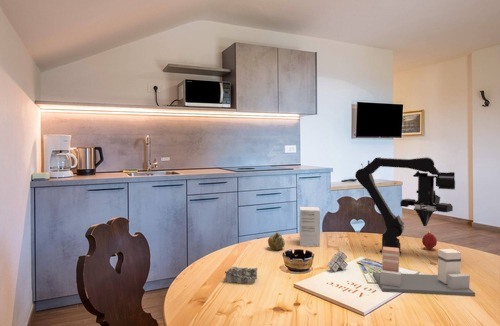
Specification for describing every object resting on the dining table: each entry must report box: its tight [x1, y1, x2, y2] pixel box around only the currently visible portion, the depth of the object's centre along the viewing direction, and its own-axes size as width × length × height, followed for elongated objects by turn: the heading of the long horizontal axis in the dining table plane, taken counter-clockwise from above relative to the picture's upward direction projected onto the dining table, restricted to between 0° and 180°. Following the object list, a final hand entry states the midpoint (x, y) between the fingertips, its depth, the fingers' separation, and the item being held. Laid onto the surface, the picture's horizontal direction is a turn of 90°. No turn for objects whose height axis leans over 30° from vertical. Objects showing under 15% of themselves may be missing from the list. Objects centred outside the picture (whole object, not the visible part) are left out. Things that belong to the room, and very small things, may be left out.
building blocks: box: [326, 250, 348, 273], centre depth 129 cm, size 5×5×8 cm
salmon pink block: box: [381, 247, 400, 272], centre depth 115 cm, size 4×5×10 cm
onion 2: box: [267, 231, 286, 251], centre depth 154 cm, size 8×8×8 cm
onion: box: [421, 231, 438, 250], centre depth 153 cm, size 6×6×8 cm
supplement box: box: [299, 206, 321, 248], centre depth 162 cm, size 10×9×17 cm
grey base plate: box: [372, 269, 476, 297], centre depth 113 cm, size 14×27×5 cm, turn 83°
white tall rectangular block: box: [437, 248, 462, 284], centre depth 113 cm, size 4×5×10 cm
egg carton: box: [224, 266, 258, 285], centre depth 118 cm, size 11×8×4 cm
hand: (425, 226), depth 141 cm, fingers closed
